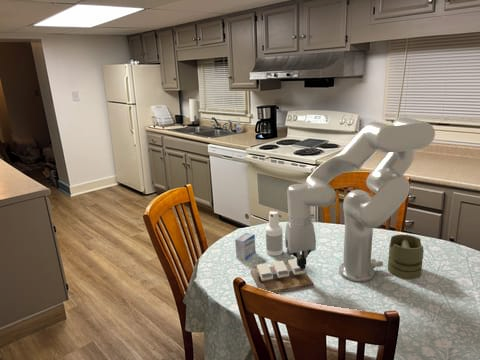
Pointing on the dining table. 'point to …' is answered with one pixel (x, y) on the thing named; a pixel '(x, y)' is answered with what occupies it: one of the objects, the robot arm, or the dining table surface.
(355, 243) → the robot arm
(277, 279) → the switch board
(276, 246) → the spray bottle
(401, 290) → the dining table surface
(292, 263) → the rocker
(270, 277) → the block
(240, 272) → the dining table surface
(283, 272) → the rocker middle
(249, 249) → the medicine box
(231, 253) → the dining table surface
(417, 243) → the piston
